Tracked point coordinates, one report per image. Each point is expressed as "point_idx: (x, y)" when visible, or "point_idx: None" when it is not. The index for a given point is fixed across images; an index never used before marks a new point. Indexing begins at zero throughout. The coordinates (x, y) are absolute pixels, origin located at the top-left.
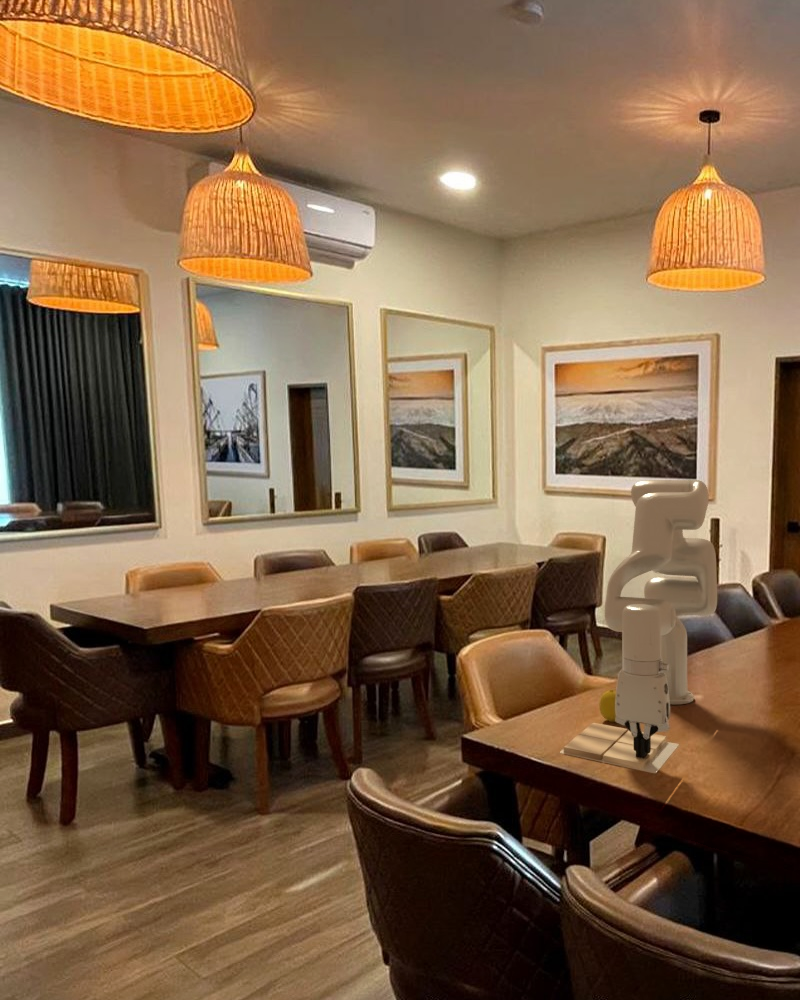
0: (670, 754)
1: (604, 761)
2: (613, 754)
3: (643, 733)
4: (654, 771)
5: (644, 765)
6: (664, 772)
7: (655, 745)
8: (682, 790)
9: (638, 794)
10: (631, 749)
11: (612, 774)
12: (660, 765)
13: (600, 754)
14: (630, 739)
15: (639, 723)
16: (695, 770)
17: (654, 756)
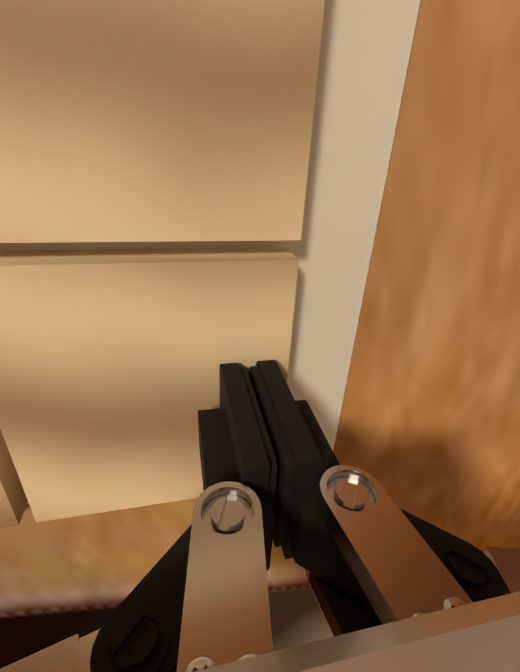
0: (384, 166)
1: None
2: (83, 483)
3: (318, 597)
4: None
5: None
6: (359, 405)
7: (287, 155)
8: (426, 494)
9: (297, 584)
10: (143, 351)
11: (158, 538)
12: (340, 375)
13: (14, 521)
14: (3, 101)
15: (267, 612)
16: (498, 303)
17: None
